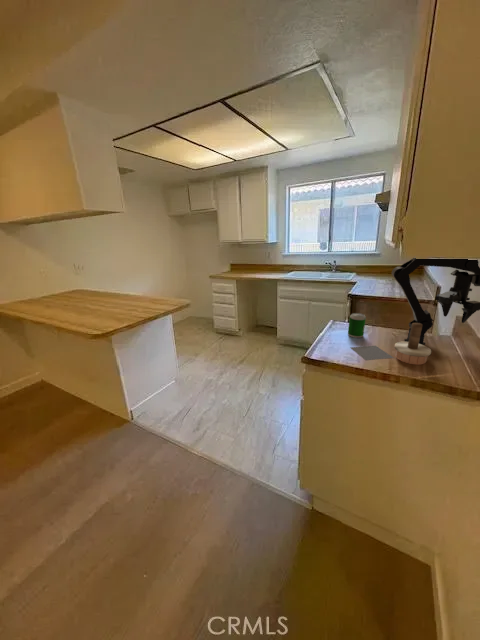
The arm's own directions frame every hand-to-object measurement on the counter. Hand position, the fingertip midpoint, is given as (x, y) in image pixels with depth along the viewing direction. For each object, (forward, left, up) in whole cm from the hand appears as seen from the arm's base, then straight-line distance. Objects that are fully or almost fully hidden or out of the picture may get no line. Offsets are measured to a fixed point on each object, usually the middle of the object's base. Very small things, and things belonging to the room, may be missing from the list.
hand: (453, 319), depth 121 cm
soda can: (-18, -36, -13) cm, 42 cm away
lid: (+10, -27, -8) cm, 30 cm away
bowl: (+10, -27, -13) cm, 32 cm away
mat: (+2, -40, -13) cm, 42 cm away
